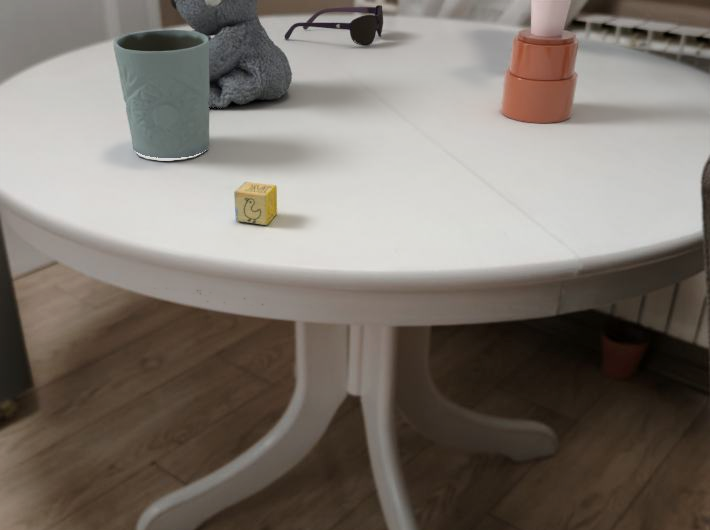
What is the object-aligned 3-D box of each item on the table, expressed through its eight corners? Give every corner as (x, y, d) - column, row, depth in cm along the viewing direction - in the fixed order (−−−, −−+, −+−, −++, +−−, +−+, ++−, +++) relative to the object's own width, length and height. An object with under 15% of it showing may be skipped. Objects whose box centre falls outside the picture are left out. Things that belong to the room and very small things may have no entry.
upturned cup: (533, 99, 108) (544, 23, 103) (586, 115, 102) (599, 35, 97) (486, 110, 104) (494, 31, 98) (537, 127, 98) (549, 45, 92)
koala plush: (187, 75, 119) (174, -74, 108) (306, 81, 116) (304, -71, 105) (142, 109, 105) (121, -58, 94) (276, 117, 101) (270, -55, 91)
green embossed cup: (172, 129, 97) (161, 25, 91) (236, 145, 92) (229, 36, 86) (108, 153, 90) (91, 41, 84) (174, 171, 86) (161, 54, 79)
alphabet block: (247, 210, 77) (245, 179, 75) (278, 213, 76) (276, 183, 74) (235, 222, 74) (233, 191, 73) (267, 226, 74) (265, 195, 72)
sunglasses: (365, 50, 132) (366, 18, 129) (277, 43, 136) (276, 11, 134) (390, 33, 142) (391, 3, 140) (307, 27, 147) (306, -2, 144)
